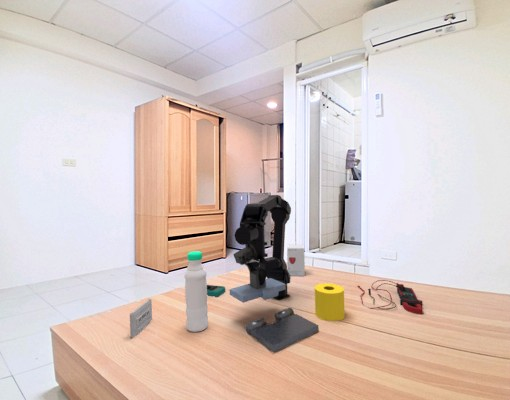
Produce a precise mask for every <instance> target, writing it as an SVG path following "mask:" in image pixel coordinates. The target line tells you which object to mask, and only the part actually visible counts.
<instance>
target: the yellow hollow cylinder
mask: <svg viewBox="0 0 510 400" xmlns="http://www.w3.org/2000/svg"><path fill="white" fill-rule="evenodd" d="M314 314H315V316H316V317H317V318H319V319H320V320H323V321H327V322H338V321H342V320H343V319H345V316H346V315H345V289H344V287H343V286H342V285H340V284H335V283H328V282H327V283H326V282H325V283H320V284H319V283H318V284H316V285H315V286H314Z"/></svg>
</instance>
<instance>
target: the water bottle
mask: <svg viewBox="0 0 510 400" xmlns="http://www.w3.org/2000/svg"><path fill="white" fill-rule="evenodd" d="M202 261H203V252H202V251H198V250H197V251H196V250H195V251H190V252H188V253H187V262H188V265H187V267H186V270H185V272H184V279H185V283H184V284H185V285H184V290H185V291H184V294H185V295H184V297H185V304H186V306H185V307H186V308H185V317H186V320H185V322H186V329H187V330H188V331H189V332H192V333H193V332H194V333H196V332H197V333H198V332H202V331H203V330H205V329H207V328H208V326H209V316H208V314H209V313H208V310H209V309H208V296H207V285H208V284H207V271H206V269H205V267H204V265H203V264H202Z"/></svg>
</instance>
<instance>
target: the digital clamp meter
mask: <svg viewBox="0 0 510 400" xmlns="http://www.w3.org/2000/svg"><path fill="white" fill-rule="evenodd" d="M381 281H382V282H383V281H385V282H390V283H385V282H384V283H381V284H380V285H378V286H377V287H376V288H374V287H373V285H374V284H375V283H377V282H381ZM382 285H390V286H393V287H396V293H397V295H398V297H399V299H400V300H399V302H400V306H402V308H403V309H404V310H405V311H407V312H409V313H410V314H415V315H423V300H421V299H418V297H417V295H416V293H415V291H414V289H413V288H412V287H406V286H405V285H404V284H403V283H398V282H393V281H391V280H387V279H379V280H376V281H374V282H373V283H372V284H371V288H370V287H369V288H368V289H367V290H368V295H369V296H370V297H371V298H373V299H375V297H374V296H372V294H371V291H372V289H373V290H375V291H385V292H387V293H388V294H389V297H390V299H388V298H386V297H383V296H382V295H380V294H379V293H377V295H378V296H380V297H381V298H382V299H385V300H387V301H389V302H390V303H389V304H386V305H383V306H382V305H381V306H377V307H369V306H368V307H367V306H365V305H364V301H363V298H362V295H364V294H365V290H364V289H363V288H362V287H361V285H357V288H358V289H359V290H361V291H362V292H363V293H361V294H360V295H359V297H360V300H361V304H362V305H364V306H365V308H367V309H371V310H372V309H374V310H375V309H379V310H391V309H395V308H396V307H397V304H396V302H394V301H393V300H392V295H391V293H390V292H389V291H388V290H387V289H380V288H379V287H381V286H382ZM372 303H373V304H375V300H373V302H372ZM392 303H393V305H395V306H394V307H393V306H392V307H388V306H390V305H391V304H392ZM384 307H386V308H384ZM387 307H388V308H387Z"/></svg>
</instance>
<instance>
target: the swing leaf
mask: <svg viewBox="0 0 510 400" xmlns="http://www.w3.org/2000/svg"><path fill="white" fill-rule="evenodd" d="M285 289H286V288H285V284H284V283H282V282H279V281H277V280H274V279H272V278H269V279H267V278H266V279H265V282H264V284H263V285H260V282H259V274H258V270H257V271H252V272H249V283H248V284H243V285H239V286H235V287H231V288H229V295H230V296H231V297H233V298H235V299H236V300H238V301H239V302H241V303H243V304H244V303H247V302H250V301H253V300H256V299H259V298H261V299H262V300H263V301H267V300H270V299H273V297H276V296H278V294H279V291H282V290H285Z"/></svg>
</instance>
